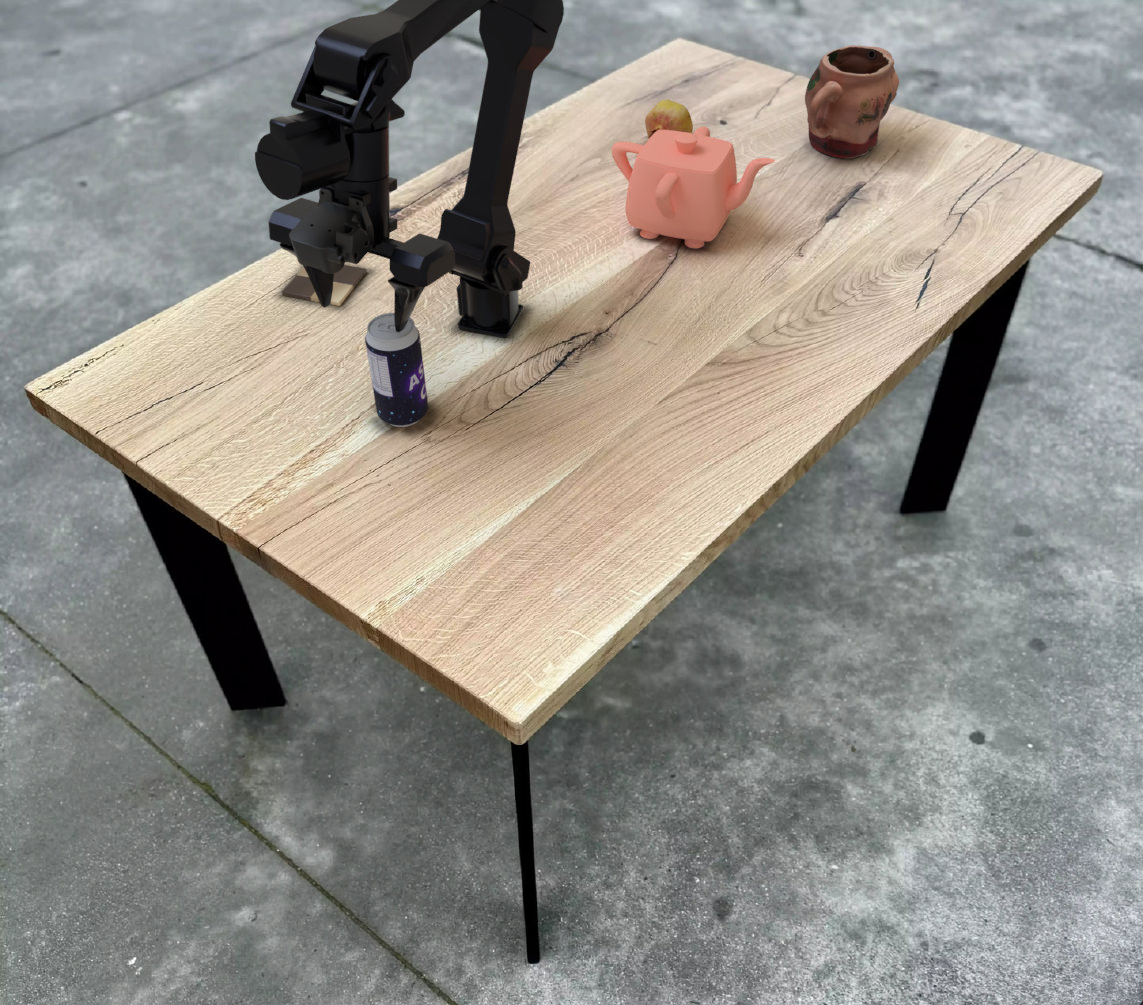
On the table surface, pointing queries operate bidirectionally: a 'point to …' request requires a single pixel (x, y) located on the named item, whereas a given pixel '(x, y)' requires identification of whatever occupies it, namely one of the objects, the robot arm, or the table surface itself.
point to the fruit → (668, 118)
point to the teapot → (683, 184)
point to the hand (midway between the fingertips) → (362, 318)
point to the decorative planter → (849, 99)
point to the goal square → (341, 285)
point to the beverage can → (396, 371)
